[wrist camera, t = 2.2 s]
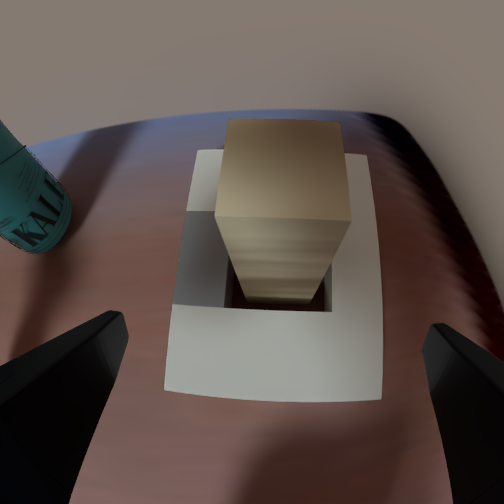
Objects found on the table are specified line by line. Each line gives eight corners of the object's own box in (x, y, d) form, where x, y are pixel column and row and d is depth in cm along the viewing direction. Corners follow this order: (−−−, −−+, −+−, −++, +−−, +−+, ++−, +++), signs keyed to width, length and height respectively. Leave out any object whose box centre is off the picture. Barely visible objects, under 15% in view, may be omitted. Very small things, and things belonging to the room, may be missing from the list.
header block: (366, 395, 17) (381, 399, 15) (179, 387, 18) (164, 390, 16) (357, 178, 23) (366, 155, 20) (205, 173, 24) (198, 150, 21)
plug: (308, 304, 20) (351, 220, 9) (247, 302, 20) (214, 216, 9) (309, 247, 21) (339, 122, 10) (251, 245, 22) (228, 119, 10)
